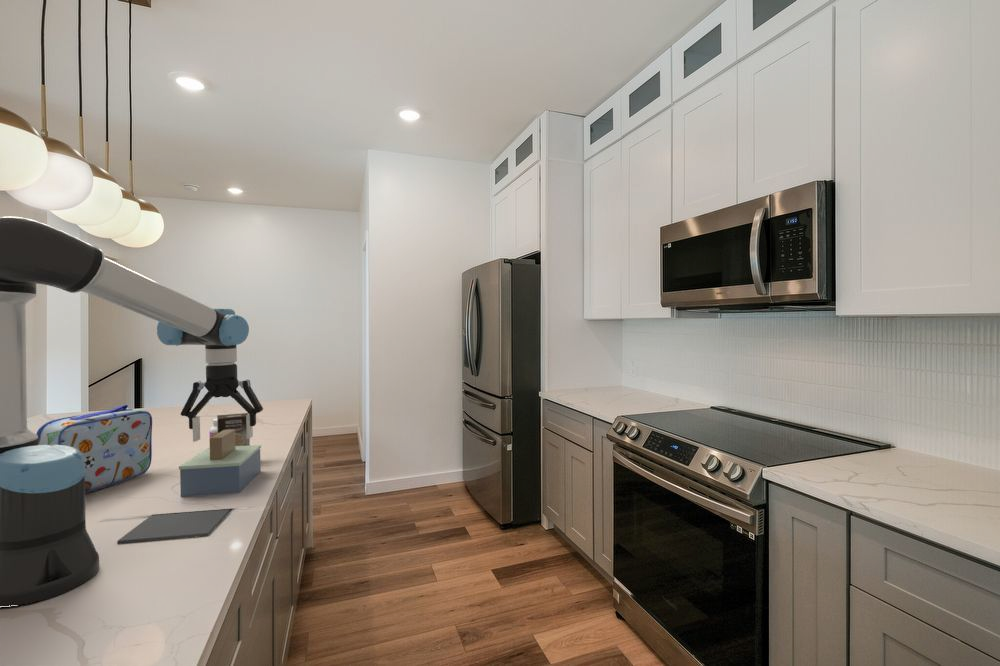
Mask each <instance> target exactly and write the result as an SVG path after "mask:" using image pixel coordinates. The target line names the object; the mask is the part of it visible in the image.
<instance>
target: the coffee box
mask: <svg viewBox="0 0 1000 666" xmlns="http://www.w3.org/2000/svg"><path fill="white" fill-rule="evenodd" d="M247 415H249V413H248V412H246V413H245V412H243V413H233V414H232V413H230V414H219V415H217V416H216V417H217V434H218V433H219V432H221V431H223V430H232V429H235V446H250V443H251V441H250V439H251V438H250V439H247V427H246V416H247Z"/></svg>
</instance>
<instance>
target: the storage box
mask: <svg viewBox="0 0 1000 666" xmlns="http://www.w3.org/2000/svg"><path fill="white" fill-rule="evenodd" d="M260 473H261V448H260V449H259V450H258V451H256V452H255V453H254V454H253V455H252V456H251V457H249V458H248V459H247V460H246V461H245V462H244V463H242V464H241V465H240V466H229V467H212V468H196V469H179V476H180V481H179V482H180V498H185V497H186V498H187V497H201V496H212V495H214V496H215V495H227V494H239V493H240V494H241V492H242V491H243V490H244V489H245V488H246V487H247V486H248V485H249V484H250V483H251V482H252V481H253V480H254V478H256V477H257V476H258V475H259V474H260Z"/></svg>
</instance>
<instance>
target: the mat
mask: <svg viewBox="0 0 1000 666" xmlns="http://www.w3.org/2000/svg"><path fill="white" fill-rule="evenodd" d="M233 509H234V508H232V507H231V508H222V509H219V508H218V509H208V510H207V509H206V510H196V511H182V512H170V513H158V514H155V513H154V514H151V515H150V516H148V517H147V518H146V519H145V520H143V521H142V522H141V523H139V524H137V525H136V526H135V527H134V528H132V529H131V530H129V532H127V533H126V534H124V535H123V536H122V537H120V538H119V539H118V540H117V541H116V542H117V544H118V545H119V544H129V543H141V542H153V541H163V540H175V539H176V540H177V539H185V537H188V538H196V537H195V536H200V537H207V536H209V535H210V534H211V533H212V532H213V531H214V530H215V529H216V528H217V527H218V525H220V523H222V521H223V520H224V519H225V518H226V517H227V516H228V515H229V514H230V513H229V512H231V511H233ZM228 513H229V514H228ZM227 514H228V515H227ZM226 515H227V516H226ZM225 516H226V517H225ZM223 518H224V519H223ZM215 527H216V528H215ZM214 528H215V529H214Z"/></svg>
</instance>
